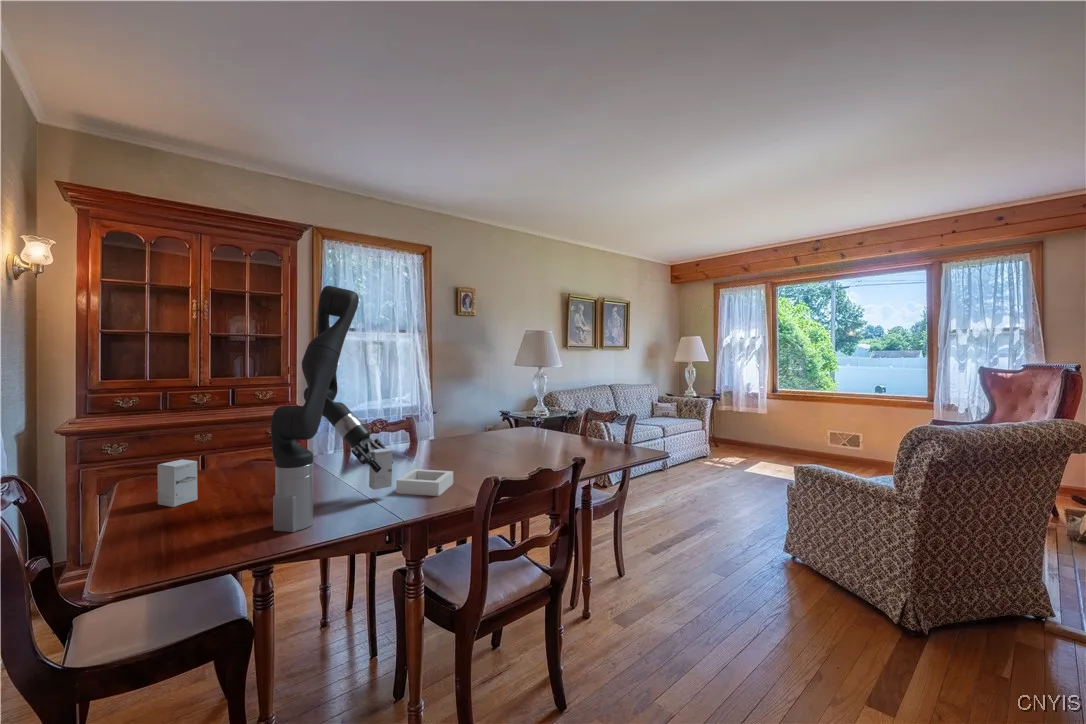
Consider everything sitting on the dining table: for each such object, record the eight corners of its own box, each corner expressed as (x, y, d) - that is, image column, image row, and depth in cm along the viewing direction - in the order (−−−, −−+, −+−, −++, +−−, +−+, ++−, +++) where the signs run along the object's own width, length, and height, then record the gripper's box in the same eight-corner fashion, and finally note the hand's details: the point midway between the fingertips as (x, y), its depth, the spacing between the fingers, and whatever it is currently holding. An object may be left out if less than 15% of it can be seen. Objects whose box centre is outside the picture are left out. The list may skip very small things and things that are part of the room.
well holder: (438, 496, 155) (438, 482, 155) (396, 493, 157) (396, 480, 157) (453, 483, 169) (453, 471, 169) (414, 481, 171) (414, 469, 171)
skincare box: (374, 490, 148) (375, 452, 148) (368, 487, 151) (368, 450, 151) (392, 486, 153) (393, 449, 152) (386, 483, 156) (386, 447, 156)
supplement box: (173, 507, 141) (172, 466, 141) (157, 504, 144) (156, 464, 143) (198, 500, 148) (197, 460, 148) (182, 497, 151) (181, 458, 150)
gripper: (347, 426, 146) (382, 465, 144) (371, 419, 160) (402, 455, 158) (332, 442, 147) (366, 481, 145) (356, 434, 161) (387, 470, 159)
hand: (385, 467), depth 152 cm, fingers closed on skincare box, 7 cm apart
